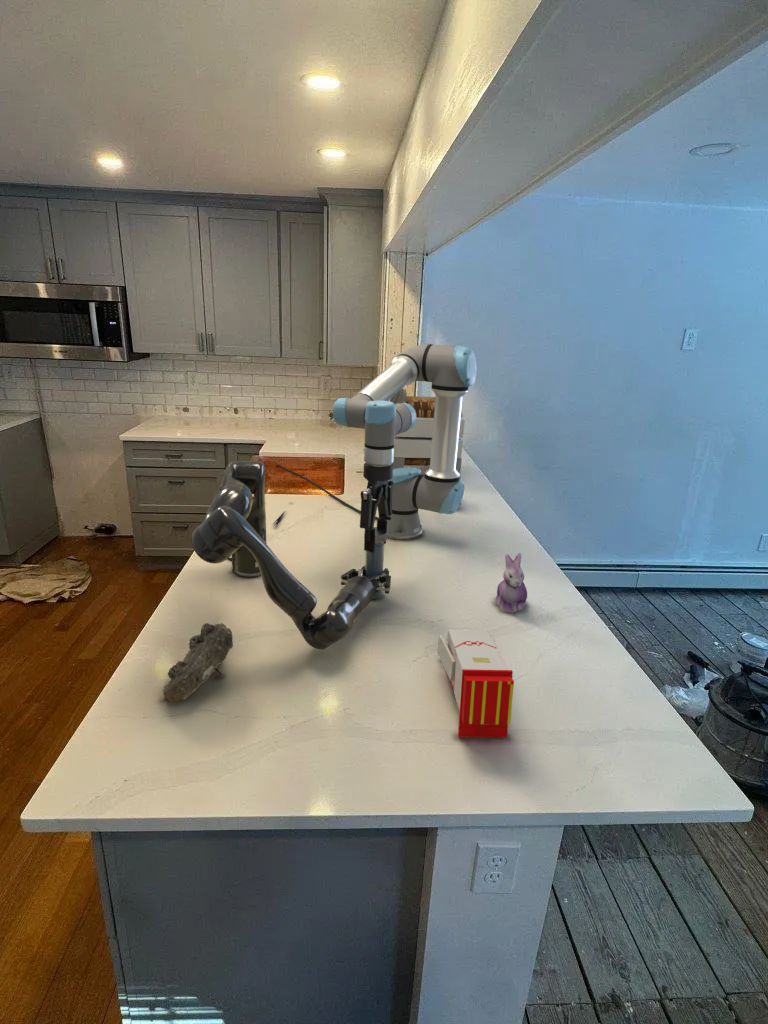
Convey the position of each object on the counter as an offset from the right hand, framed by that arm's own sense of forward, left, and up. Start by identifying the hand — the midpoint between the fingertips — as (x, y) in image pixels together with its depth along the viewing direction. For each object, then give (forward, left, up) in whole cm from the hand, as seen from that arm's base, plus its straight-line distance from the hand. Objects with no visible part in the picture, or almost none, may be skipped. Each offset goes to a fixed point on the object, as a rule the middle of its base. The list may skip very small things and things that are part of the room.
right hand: (375, 546), depth 152 cm
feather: (-68, +12, -15) cm, 71 cm away
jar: (0, 0, -15) cm, 15 cm away
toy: (+45, -11, -15) cm, 48 cm away
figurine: (+27, +26, -15) cm, 40 cm away
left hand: (-1, +2, -8) cm, 8 cm away
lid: (0, 0, +4) cm, 4 cm away
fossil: (+6, -52, -15) cm, 54 cm away
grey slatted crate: (-82, +97, -15) cm, 128 cm away
